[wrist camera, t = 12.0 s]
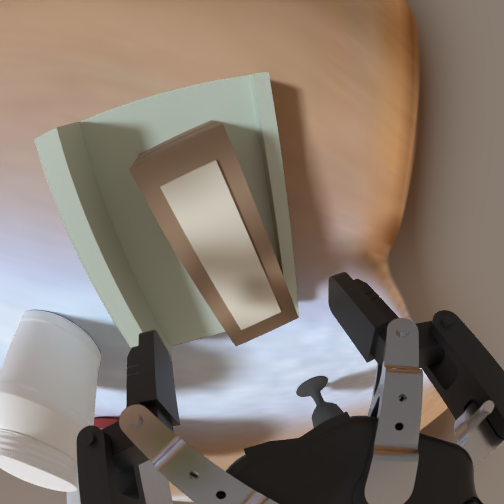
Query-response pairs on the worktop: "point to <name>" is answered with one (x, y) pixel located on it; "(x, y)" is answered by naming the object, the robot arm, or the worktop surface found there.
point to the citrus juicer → (151, 478)
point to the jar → (46, 399)
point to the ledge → (138, 212)
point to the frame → (216, 229)
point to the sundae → (318, 400)
